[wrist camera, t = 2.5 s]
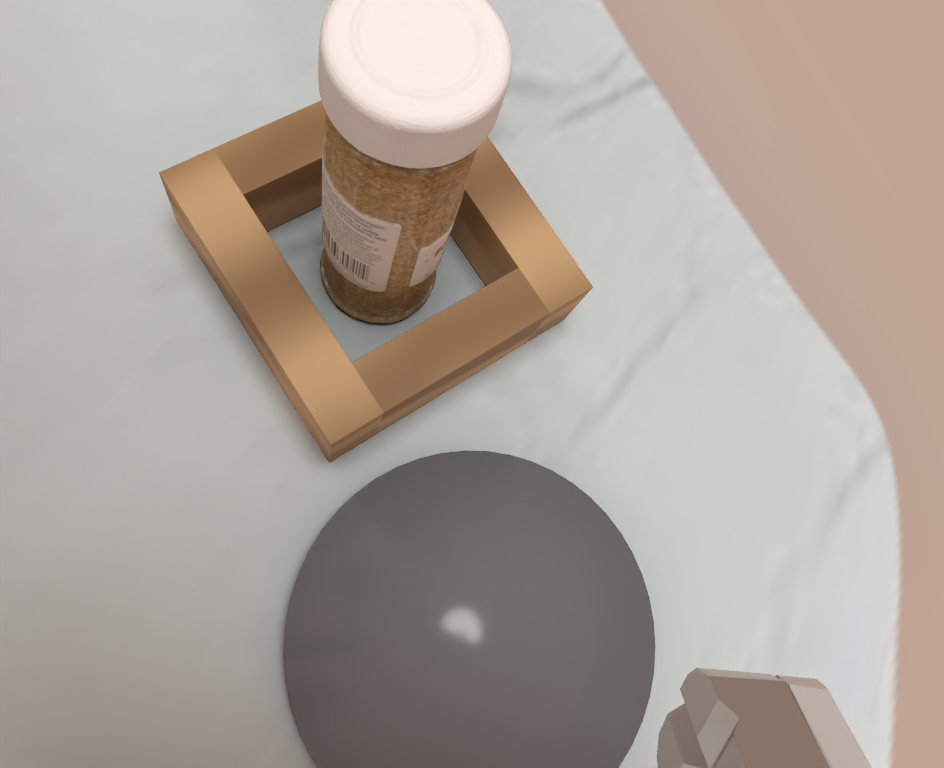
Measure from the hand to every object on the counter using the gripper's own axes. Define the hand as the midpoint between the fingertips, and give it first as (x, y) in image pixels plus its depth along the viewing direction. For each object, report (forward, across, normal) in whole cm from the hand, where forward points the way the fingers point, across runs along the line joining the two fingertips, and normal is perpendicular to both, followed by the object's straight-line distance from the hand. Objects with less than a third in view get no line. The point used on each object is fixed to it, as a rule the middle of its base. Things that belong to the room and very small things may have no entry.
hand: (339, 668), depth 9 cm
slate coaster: (+13, -5, +14) cm, 20 cm away
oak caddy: (+23, 0, +4) cm, 23 cm away
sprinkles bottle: (+23, 0, +4) cm, 23 cm away
